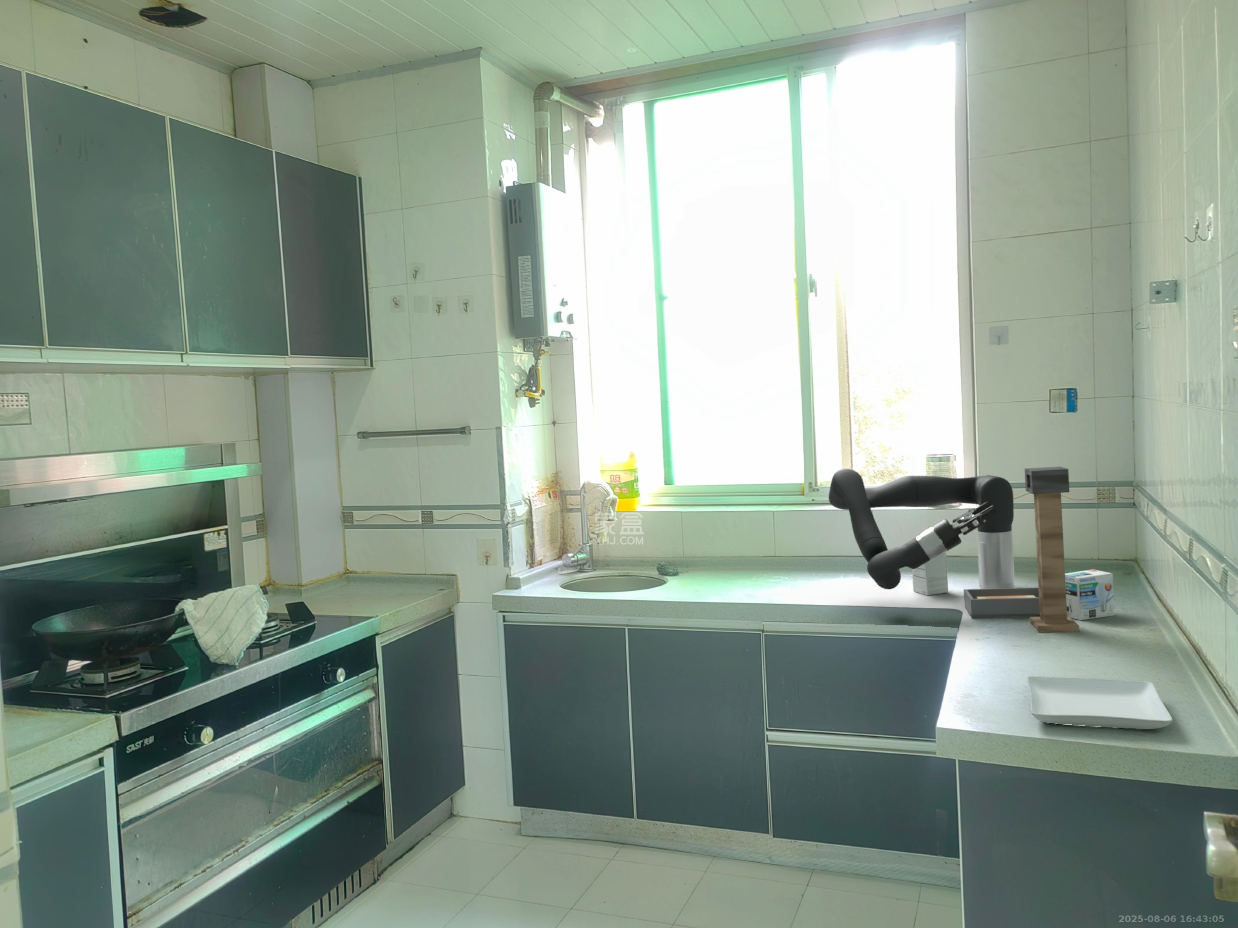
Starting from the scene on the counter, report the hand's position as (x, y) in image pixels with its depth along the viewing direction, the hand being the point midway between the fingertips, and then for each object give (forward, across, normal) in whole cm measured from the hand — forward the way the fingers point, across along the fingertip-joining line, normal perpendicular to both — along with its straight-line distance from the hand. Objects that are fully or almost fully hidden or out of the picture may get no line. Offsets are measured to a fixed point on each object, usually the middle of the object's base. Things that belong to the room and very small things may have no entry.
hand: (993, 506), depth 234 cm
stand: (-6, +16, -29) cm, 34 cm away
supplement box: (-26, -28, -17) cm, 42 cm away
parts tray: (-12, 0, -25) cm, 28 cm away
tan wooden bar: (-12, 0, -24) cm, 27 cm away
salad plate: (-12, +77, -26) cm, 83 cm away
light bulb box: (+3, +5, -34) cm, 35 cm away
